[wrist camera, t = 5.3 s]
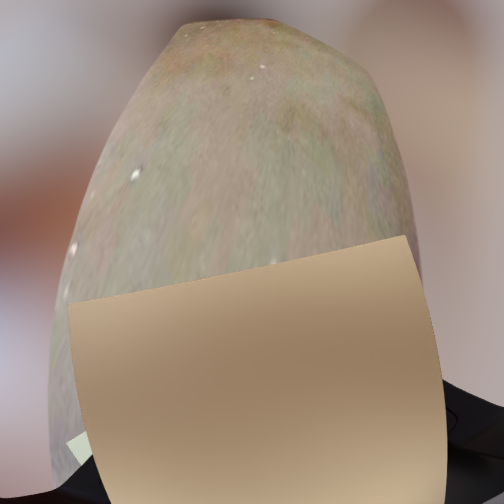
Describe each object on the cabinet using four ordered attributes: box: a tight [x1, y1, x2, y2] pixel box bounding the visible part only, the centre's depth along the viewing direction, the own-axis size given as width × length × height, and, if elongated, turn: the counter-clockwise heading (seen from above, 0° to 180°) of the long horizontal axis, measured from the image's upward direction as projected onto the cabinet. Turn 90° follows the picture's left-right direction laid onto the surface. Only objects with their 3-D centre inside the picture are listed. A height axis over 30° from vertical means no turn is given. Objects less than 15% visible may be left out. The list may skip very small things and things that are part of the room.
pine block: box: [68, 235, 447, 504], centre depth 8 cm, size 6×6×12 cm
